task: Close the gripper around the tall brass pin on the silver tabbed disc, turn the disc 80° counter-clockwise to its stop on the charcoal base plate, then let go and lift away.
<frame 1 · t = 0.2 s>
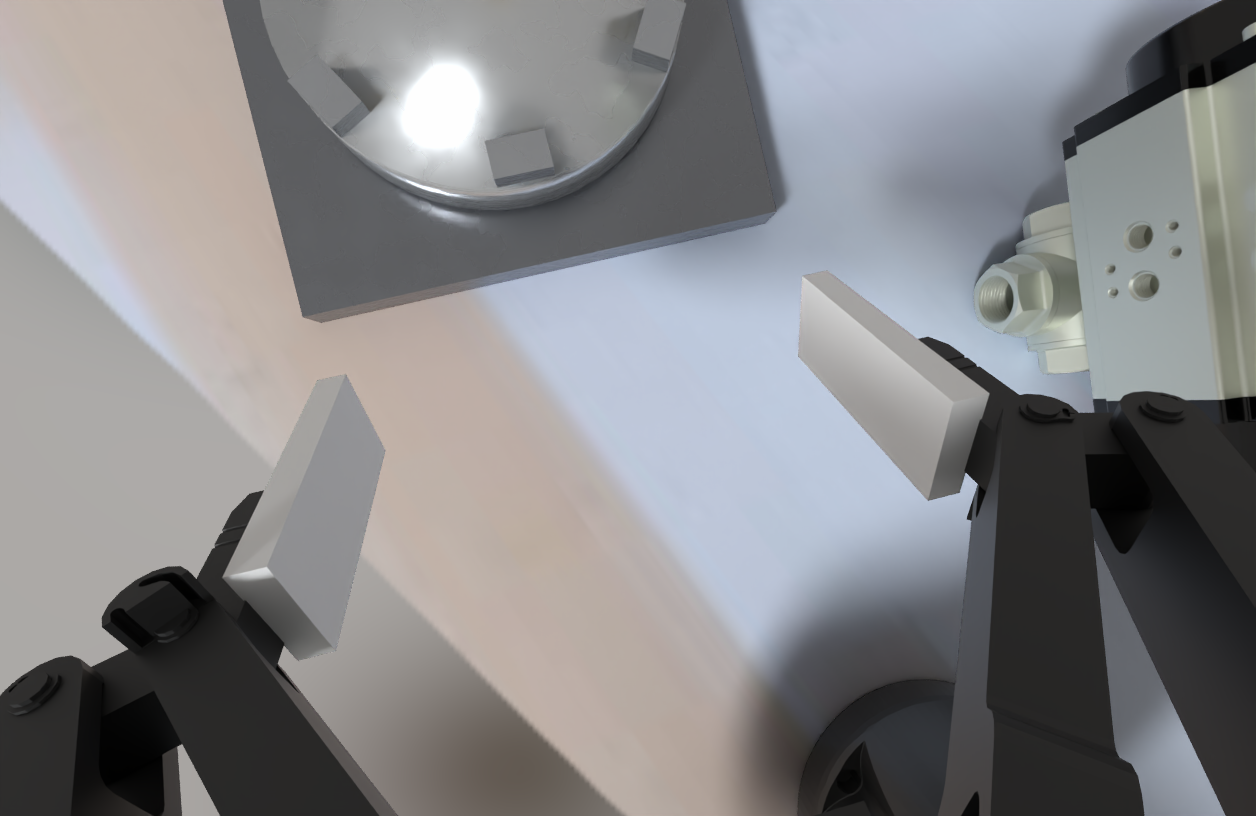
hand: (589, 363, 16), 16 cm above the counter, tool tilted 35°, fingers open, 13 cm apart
ball valve: (1026, 299, 34), on the counter
base plate: (494, 48, 32), on the counter
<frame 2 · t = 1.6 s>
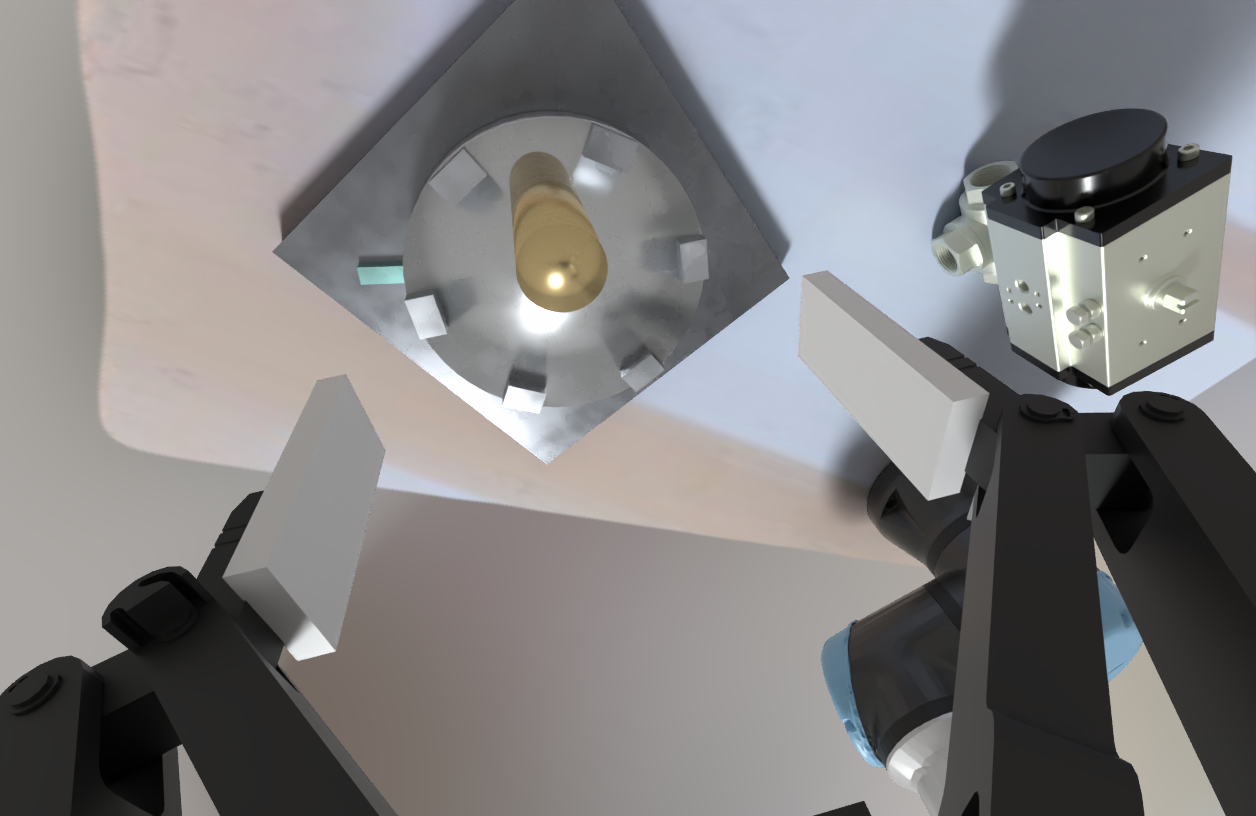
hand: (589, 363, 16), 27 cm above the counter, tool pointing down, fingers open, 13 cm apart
ball valve: (970, 221, 47), on the counter
base plate: (555, 257, 42), on the counter
silver tabbed disc: (570, 321, 33), point 11 cm above the counter, hinge at 0.0°
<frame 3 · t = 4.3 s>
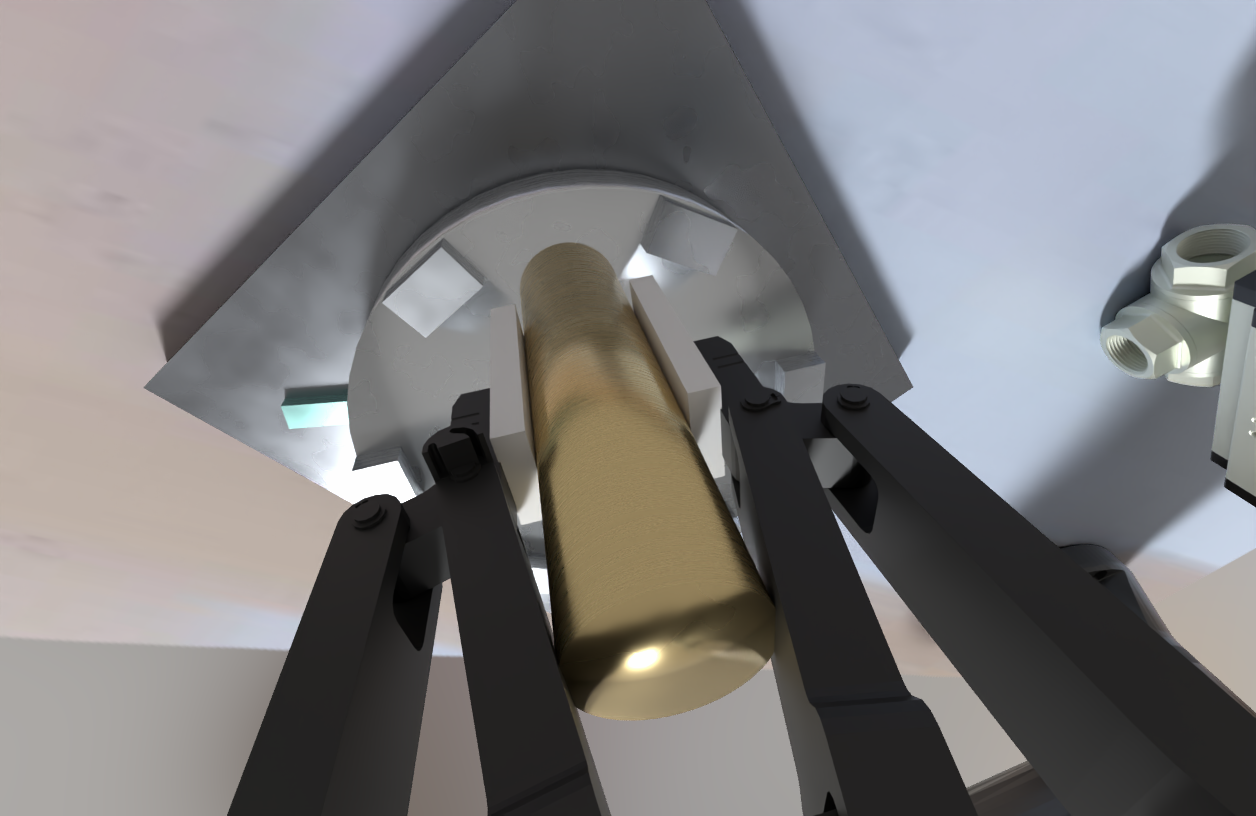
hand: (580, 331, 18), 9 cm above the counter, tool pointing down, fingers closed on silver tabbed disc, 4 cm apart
ball valve: (1152, 298, 34), on the counter
base plate: (582, 366, 29), on the counter
silver tabbed disc: (623, 525, 20), point 11 cm above the counter, hinge at 0.0°, touching gripper
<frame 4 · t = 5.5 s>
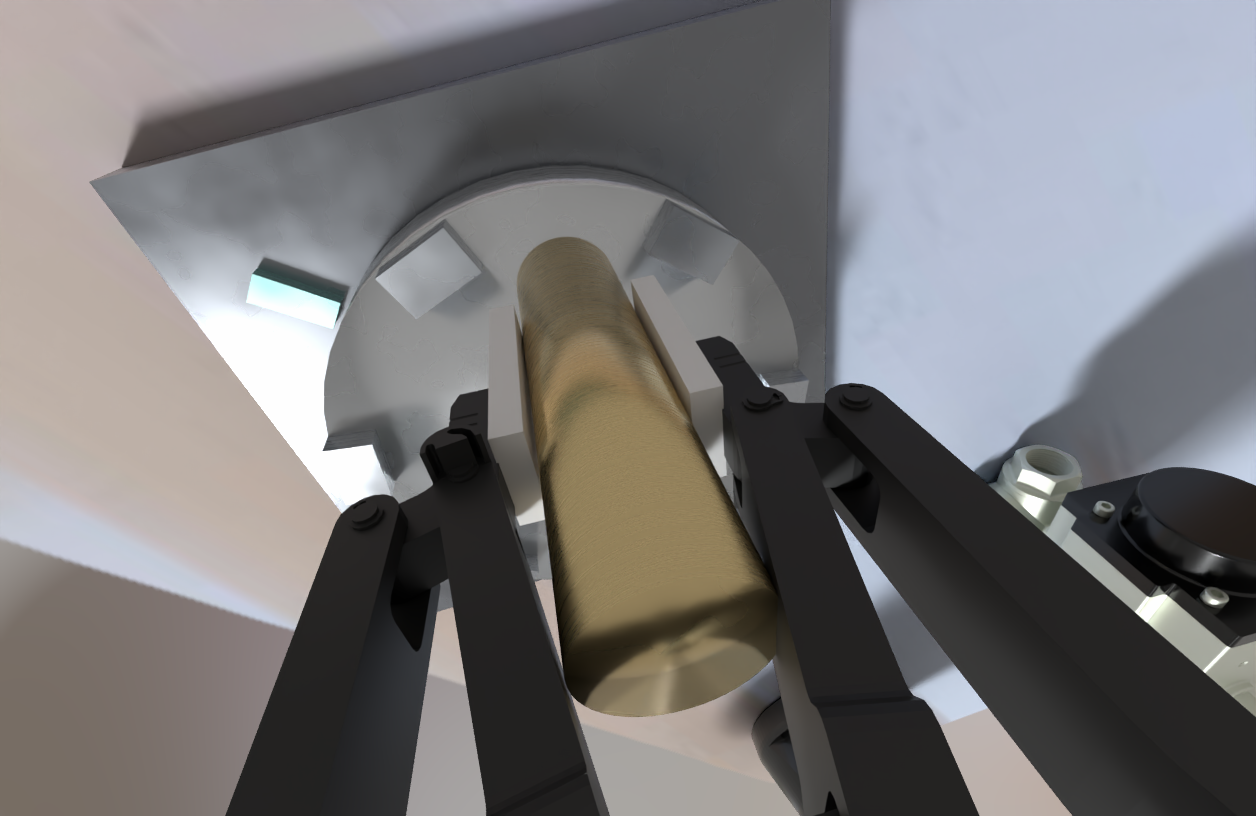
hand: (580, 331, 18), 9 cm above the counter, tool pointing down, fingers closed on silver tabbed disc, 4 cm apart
ball valve: (993, 487, 43), on the counter
base plate: (566, 365, 28), on the counter
silver tabbed disc: (604, 525, 20), point 11 cm above the counter, hinge at 20.1°, touching gripper
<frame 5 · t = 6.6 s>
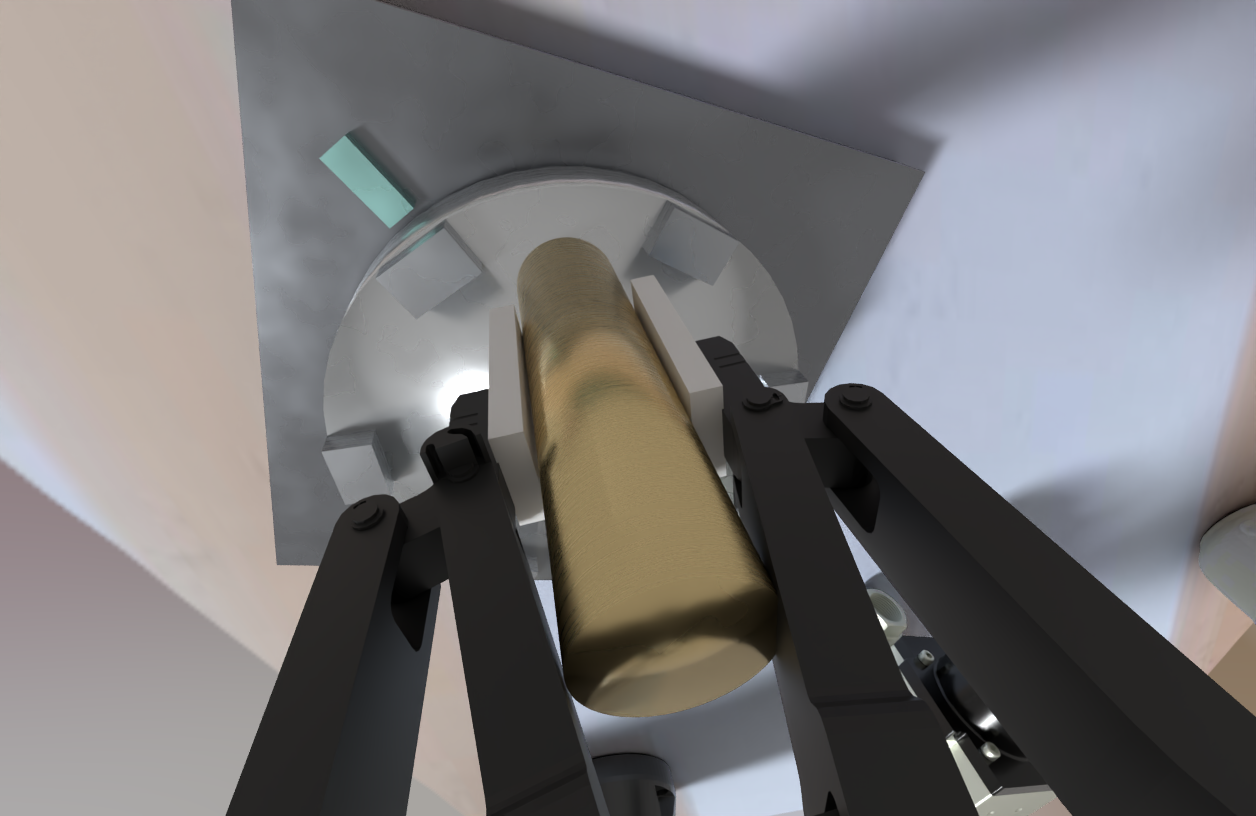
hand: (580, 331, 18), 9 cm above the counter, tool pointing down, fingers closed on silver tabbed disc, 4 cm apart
teacup: (1228, 518, 53), on the counter
ball valve: (832, 615, 48), on the counter
base plate: (566, 365, 28), on the counter
silver tabbed disc: (603, 526, 20), point 11 cm above the counter, hinge at 47.3°, touching gripper
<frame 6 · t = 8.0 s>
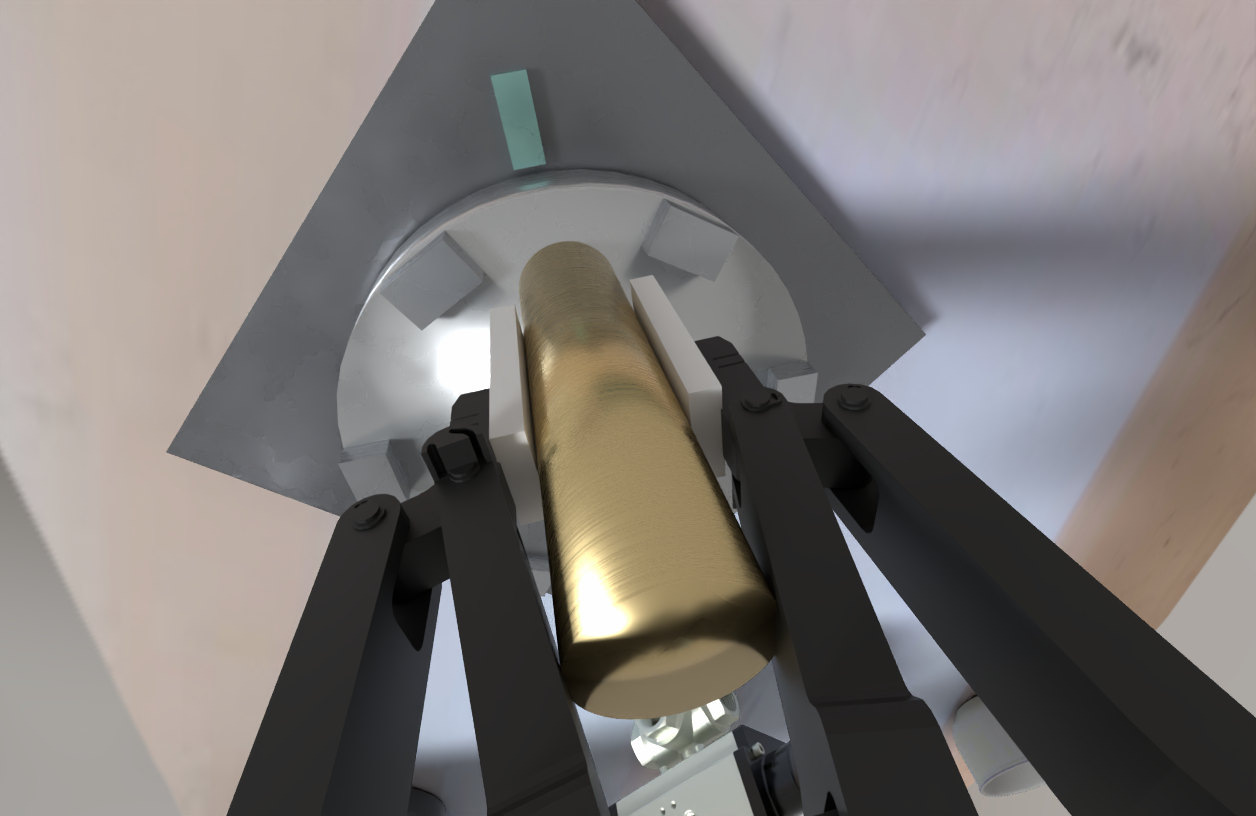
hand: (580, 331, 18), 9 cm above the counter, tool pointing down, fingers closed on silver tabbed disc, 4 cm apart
teacup: (981, 695, 64), on the counter
ball valve: (671, 691, 50), on the counter
base plate: (575, 367, 29), on the counter
silver tabbed disc: (614, 526, 20), point 11 cm above the counter, hinge at 77.0°, touching gripper
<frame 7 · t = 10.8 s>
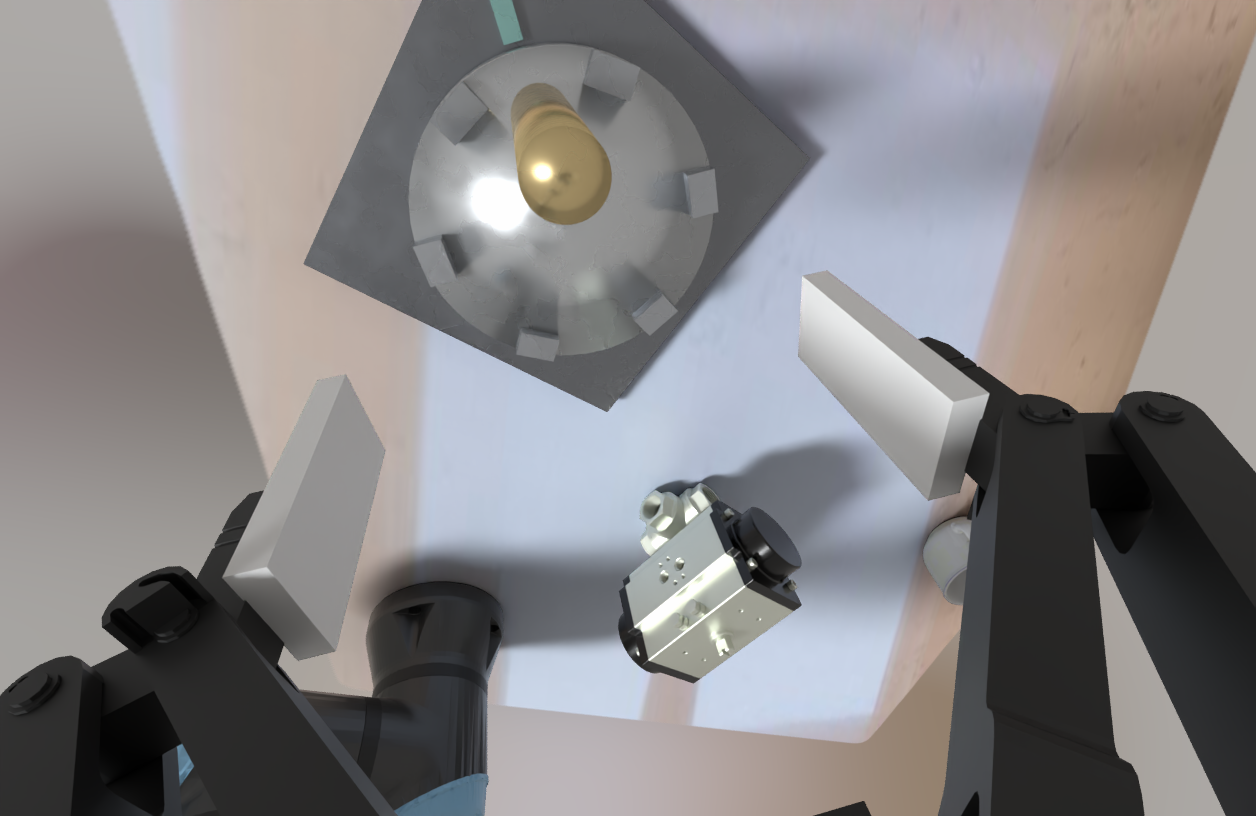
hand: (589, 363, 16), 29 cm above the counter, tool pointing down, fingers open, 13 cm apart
teacup: (947, 525, 75), on the counter
ball valve: (671, 504, 63), on the counter
base plate: (561, 201, 41), on the counter
silver tabbed disc: (579, 255, 32), point 11 cm above the counter, hinge at 77.7°
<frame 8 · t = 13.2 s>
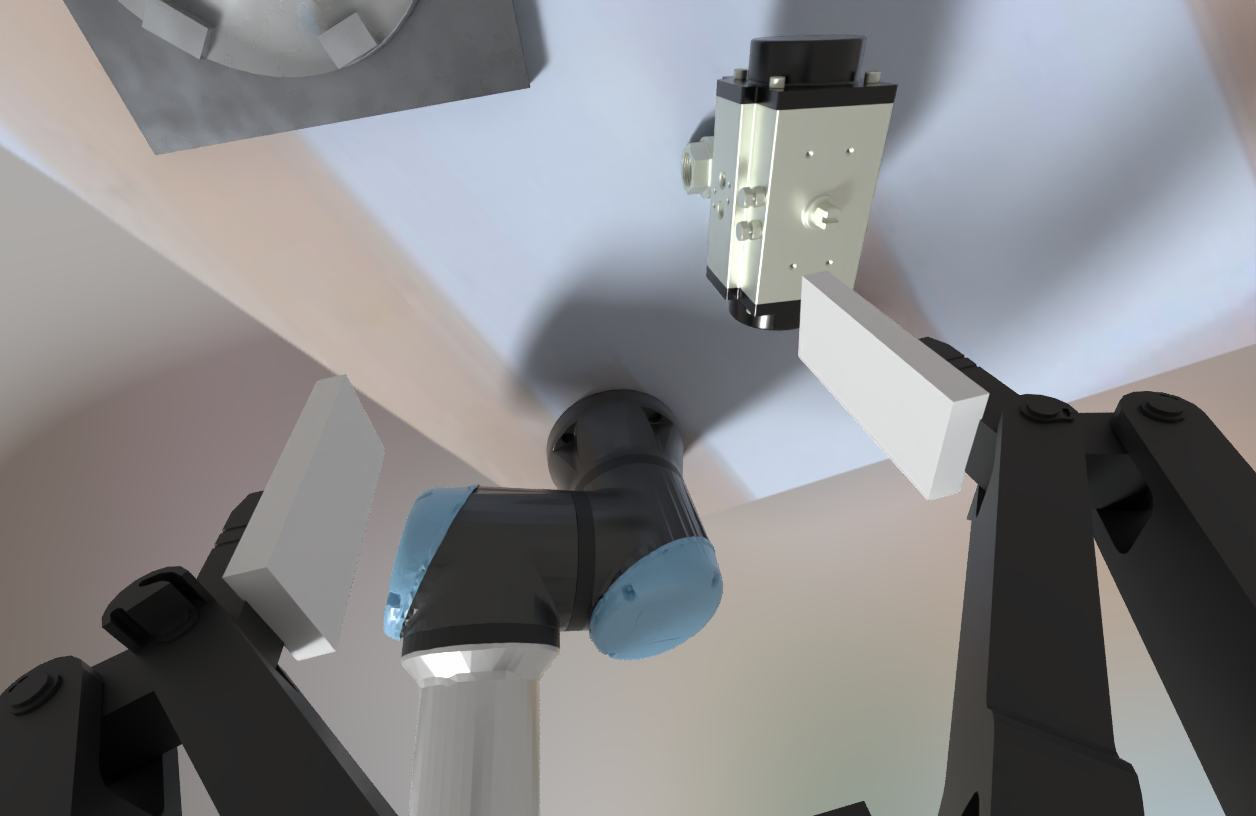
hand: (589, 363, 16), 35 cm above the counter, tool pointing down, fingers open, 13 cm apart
ball valve: (723, 159, 48), on the counter
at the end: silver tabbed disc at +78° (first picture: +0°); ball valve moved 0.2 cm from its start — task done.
